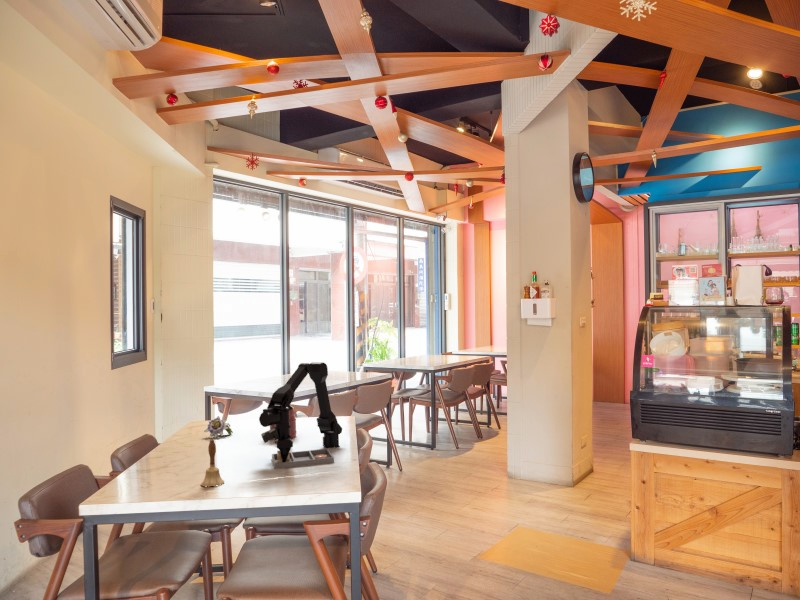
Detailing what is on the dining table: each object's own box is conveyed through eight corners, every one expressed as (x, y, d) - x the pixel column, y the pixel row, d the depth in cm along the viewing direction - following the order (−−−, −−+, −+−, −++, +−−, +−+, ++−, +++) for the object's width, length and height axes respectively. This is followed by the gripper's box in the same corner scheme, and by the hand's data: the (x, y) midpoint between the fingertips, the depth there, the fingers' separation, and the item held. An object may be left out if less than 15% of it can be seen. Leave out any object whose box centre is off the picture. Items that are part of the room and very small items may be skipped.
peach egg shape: (326, 456, 243) (326, 454, 243) (327, 459, 239) (327, 456, 239) (314, 457, 242) (314, 455, 242) (315, 460, 237) (315, 457, 237)
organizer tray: (327, 454, 249) (327, 448, 249) (334, 463, 234) (333, 457, 234) (272, 460, 243) (271, 454, 243) (274, 469, 227) (274, 463, 227)
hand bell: (229, 481, 214) (228, 437, 214) (215, 488, 206) (213, 443, 206) (210, 480, 216) (209, 437, 217) (195, 486, 208) (194, 442, 209)
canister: (300, 434, 293) (299, 399, 293) (291, 440, 280) (290, 403, 281) (275, 434, 295) (274, 399, 296) (265, 440, 283) (264, 403, 283)
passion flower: (216, 448, 292) (200, 430, 289) (218, 439, 302) (204, 422, 299) (234, 435, 292) (219, 417, 289) (236, 427, 303) (222, 409, 300)
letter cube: (288, 460, 239) (288, 449, 239) (289, 463, 235) (289, 451, 235) (277, 461, 238) (277, 450, 238) (278, 464, 233) (278, 453, 234)
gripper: (261, 420, 243) (262, 457, 243) (263, 428, 225) (264, 468, 225) (288, 417, 246) (289, 454, 246) (292, 425, 228) (293, 465, 228)
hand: (283, 460), depth 236 cm, fingers closed on letter cube, 4 cm apart
